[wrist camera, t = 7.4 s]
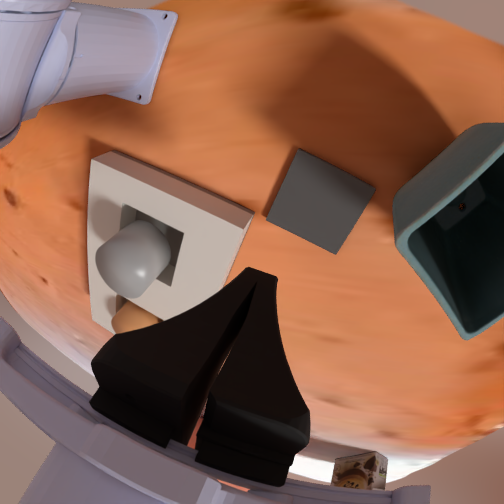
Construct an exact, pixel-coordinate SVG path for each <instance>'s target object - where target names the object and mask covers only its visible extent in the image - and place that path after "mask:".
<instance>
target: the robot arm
mask: <svg viewBox="0 0 504 504" xmlns="http://www.w3.org/2000/svg"><path fill="white" fill-rule="evenodd" d="M71 1H72V0H0V149H1V148H3V147H5V146H6V145H7V144H9V143H10V142H11V141H12V140H13V139H14V138H15V136H16V135H17V133H18V131H19V129H20V126H21V122H23V121H26V120H29V119H32V118H35V117H36V116H37V113H38V111H39V110H40V108H41V107H42V106H46V105H50V104H55V103H59V102H63V101H68V100H73V99H78V98H83V97H89V96H95V95H101V94H107V95H111V96H115V97H119V98H122V99H126V100H129V101H133V102H136V103H139V104H144V105H145V104H148V103H149V102H150V101H151V98H152V94H153V91H154V87H155V84H156V80H157V77H158V73H159V70H160V67H161V64H162V61H163V58H164V54H165V51H166V49H167V46H168V43H169V40H170V37H171V34H172V32H173V29H174V26H175V24H176V21H177V19H178V14H177V13H175V12H172V11H163V10H152V9H135V8H134V9H133V8H111V7H106V6H100V5H93V4H86V3H77V2H71ZM165 15H167V18H166V19H164V17H165ZM140 95H141V100H140V98H139V96H140ZM277 282H278V278H277V277H276V276H274V275H271V274H268V273H265V272H262V271H259V270H256V269H254V268H251V267H247V268H245V269H244V270H243V271H242V272H241V273H240V274H239V275H238V276H237V277H236V278H235V279H233V280H232V281H231V282H230V283H229V284H227V285H226V286H225V287H223V288H222V289H221V290H219V291H218V292H217V293H215V294H214V295H212V296H211V297H209V298H208V299H206V300H205V301H203V302H201V303H200V304H198V305H196V306H195V307H193V308H191V309H189V310H187V311H185V312H183V313H181V314H179V315H176V316H174V317H172V318H170V319H167V320H165V321H162V322H159V323H156V324H153V325H150V326H147V327H144V328H141V329H137V330H132V331H128V332H123V333H118V334H115V335H114V336H113V337H112V338H111V339H110V340H109V341H108V342H107V343H106V344H105V345H104V346H103V347H102V348H101V349H100V351H99V352H98V353H97V354H96V356H95V357H94V358H93V359H92V362H91V367H92V371H93V373H94V375H95V378H96V380H97V382H98V384H99V386H100V387H99V388H98V390H97V391H96V393H95V394H94V395H93V396H91V395H90V394H88V393H87V392H85V391H84V390H82V389H81V388H79V387H78V386H76V385H75V384H73V383H72V382H71V381H69V380H68V379H66V378H65V377H64V376H62V375H61V374H59V373H58V372H57V371H56V370H54V369H53V368H52V367H51V366H49V365H48V364H47V363H46V362H44V361H43V360H42V359H41V358H39V357H38V356H37V355H36V354H35V353H33V352H32V351H31V350H30V349H29V348H28V347H26V346H25V345H24V344H23V343H22V342H21V339H20V337H19V335H18V334H17V332H16V331H15V330H14V328H12V326H11V325H10V324H8V323H7V322H6V321H5V320H4V319H3V318H2V317H1V316H0V391H1V392H2V393H3V394H4V395H5V396H6V397H7V398H8V399H9V400H10V401H11V402H12V403H13V404H14V405H15V406H16V407H17V408H18V409H19V410H20V411H21V412H22V413H23V414H24V415H25V416H26V417H27V418H28V419H29V420H31V421H32V422H33V423H34V424H35V425H36V426H37V427H38V428H40V429H41V430H42V431H43V432H44V433H45V434H47V435H48V436H49V437H50V438H52V439H53V440H54V441H55V442H57V443H56V444H55V446H54V447H53V449H52V450H51V452H50V453H49V455H48V456H47V458H46V460H45V461H44V463H43V464H42V466H41V467H40V469H39V470H38V472H37V474H36V475H35V477H34V478H33V480H32V482H31V483H30V485H29V487H28V488H27V490H26V492H25V493H24V495H23V497H22V498H21V500H20V502H19V503H18V504H429V503H430V489H431V487H430V485H414V486H413V485H411V486H403V487H400V488H397V489H395V490H394V491H383V490H365V489H354V488H344V487H336V486H329V485H322V484H316V483H310V482H304V481H299V480H294V479H290V478H287V474H288V471H289V467H290V466H291V465H292V464H293V461H294V457H295V454H297V453H298V452H299V451H301V450H302V449H303V448H305V447H306V446H307V445H308V443H309V438H310V411H309V409H308V407H307V405H306V404H305V402H304V400H303V398H302V396H301V394H300V392H299V390H298V387H297V385H296V383H295V381H294V378H293V375H292V373H291V370H290V367H289V364H288V362H287V359H286V355H285V352H284V348H283V344H282V340H281V335H280V330H279V324H278V316H277V304H276V289H277ZM230 350H231V351H230ZM229 352H230V353H229ZM228 354H229V355H228ZM227 356H228V357H227ZM226 357H227V359H226ZM225 359H226V361H225ZM224 361H225V363H224ZM223 363H224V364H223ZM222 365H223V366H222ZM221 367H222V368H221ZM220 369H221V370H220ZM219 371H220V372H219ZM218 373H219V374H218ZM207 398H208V399H207ZM206 400H207V404H206V409H205V413H204V418H203V420H202V423H201V425H200V427H199V429H198V431H197V434H196V436H197V438H196V443H195V449H193V448H190V447H188V446H187V445H188V443H189V440H190V438H191V436H192V433H193V431H194V429H195V426H196V424H197V422H198V419H199V417H200V414H201V412H202V410H203V407H204V405H205V403H206ZM217 479H218V480H221V481H224V482H227V483H231V484H234V485H237V486H240V487H244V488H247V489H250V490H248V492H245V491H242V490H239V489H237V488H234V487H231V486H228V485H226V484H223V483H221V482H219V481H218V480H217Z"/></svg>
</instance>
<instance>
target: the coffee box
mask: <svg viewBox="0 0 504 504" xmlns="http://www.w3.org/2000/svg"><path fill="white" fill-rule="evenodd" d="M387 464H388V459H387V458H385V457H384V456H382V455H381V454H379V453H378V452H372V453H367V454H362V455H357V456H351V457H345V458H339V459H335V464H334V470H333V475H332V481H331V485H330V486H336V487H344V488H354V489H365V490H383V491H385V483H386V474H387Z"/></svg>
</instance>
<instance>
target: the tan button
mask: <svg viewBox="0 0 504 504" xmlns="http://www.w3.org/2000/svg"><path fill="white" fill-rule="evenodd" d="M162 321H164V320H163V319H161V318H159V317H157V316H155V315H154V314H152V313H150V312H148V311H147V310H145V309H143V308H141V307H140V306H138V305H136V304H135V303H133V302H131V301H130V300H128V301H127V302H126V303H125V304H124V305H123V307H122V308H121V309H120V310H119V311H118V312H117V313H116V315H115V316H114V317H113V318H112V320H111V325H112V328H113V330H114V331H115V333H116V334H118V333H123V332H128V331H132V330H137V329H141V328H144V327H147V326H150V325H153V324H156V323H159V322H162Z"/></svg>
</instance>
